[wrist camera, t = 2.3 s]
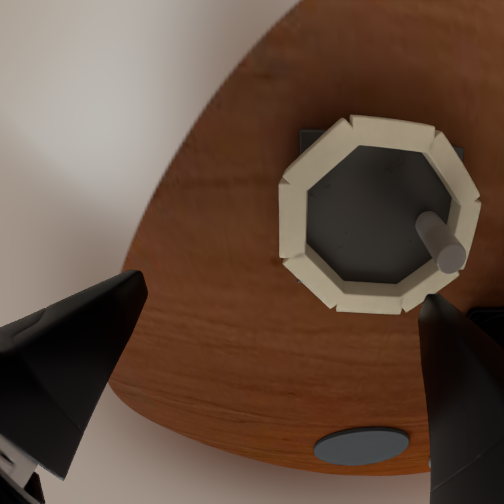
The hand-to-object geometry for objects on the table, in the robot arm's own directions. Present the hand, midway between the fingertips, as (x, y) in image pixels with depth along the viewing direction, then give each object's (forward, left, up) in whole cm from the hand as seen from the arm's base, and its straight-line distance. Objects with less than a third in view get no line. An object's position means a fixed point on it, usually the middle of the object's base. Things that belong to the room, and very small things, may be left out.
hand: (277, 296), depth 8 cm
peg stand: (-4, 0, -7) cm, 8 cm away
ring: (-4, 0, -6) cm, 8 cm away
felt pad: (-9, +27, -7) cm, 30 cm away
